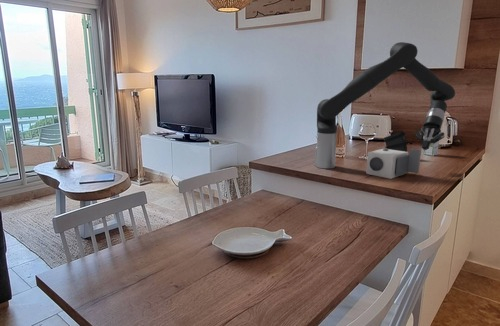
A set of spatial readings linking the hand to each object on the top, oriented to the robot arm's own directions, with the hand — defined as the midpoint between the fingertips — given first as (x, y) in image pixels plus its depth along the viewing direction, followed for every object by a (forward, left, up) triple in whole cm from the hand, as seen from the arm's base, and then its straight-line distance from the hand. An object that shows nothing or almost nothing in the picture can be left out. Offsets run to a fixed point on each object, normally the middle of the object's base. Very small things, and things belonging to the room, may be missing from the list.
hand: (424, 148), depth 158 cm
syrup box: (-15, +44, -11) cm, 48 cm away
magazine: (-25, +22, -11) cm, 35 cm away
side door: (-1, -13, -10) cm, 16 cm away
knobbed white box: (-10, -14, -11) cm, 20 cm away
